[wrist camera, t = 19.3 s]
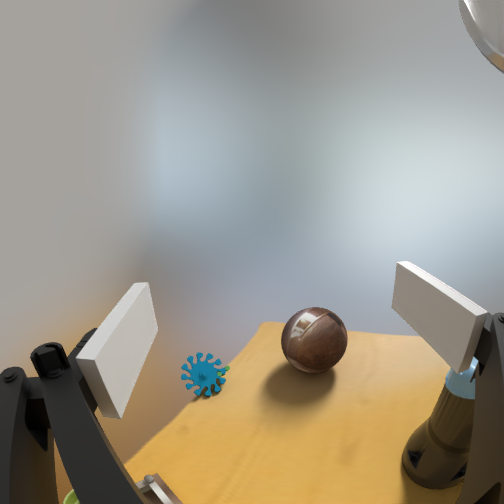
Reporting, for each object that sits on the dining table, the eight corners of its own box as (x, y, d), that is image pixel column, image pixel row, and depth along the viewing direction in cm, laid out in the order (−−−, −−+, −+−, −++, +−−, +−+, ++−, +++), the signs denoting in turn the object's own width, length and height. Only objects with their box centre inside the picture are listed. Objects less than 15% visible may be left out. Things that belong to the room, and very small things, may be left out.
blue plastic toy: (186, 399, 52) (177, 354, 57) (183, 400, 57) (175, 359, 62) (236, 390, 57) (226, 348, 62) (229, 393, 62) (220, 353, 66)
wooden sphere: (269, 373, 62) (267, 318, 58) (299, 342, 74) (300, 292, 70) (328, 393, 54) (335, 336, 50) (352, 356, 65) (358, 303, 61)
